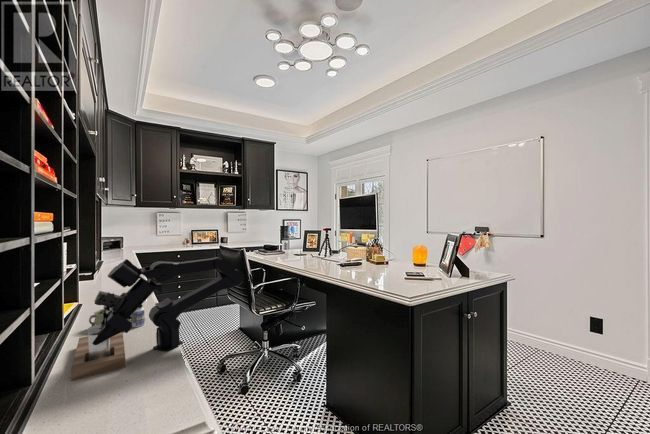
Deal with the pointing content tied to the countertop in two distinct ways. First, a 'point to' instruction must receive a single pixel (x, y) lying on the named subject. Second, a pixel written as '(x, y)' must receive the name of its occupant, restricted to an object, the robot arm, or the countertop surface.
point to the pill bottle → (138, 317)
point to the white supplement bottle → (145, 307)
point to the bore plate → (89, 368)
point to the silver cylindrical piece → (99, 349)
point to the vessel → (97, 317)
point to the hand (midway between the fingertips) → (93, 341)
